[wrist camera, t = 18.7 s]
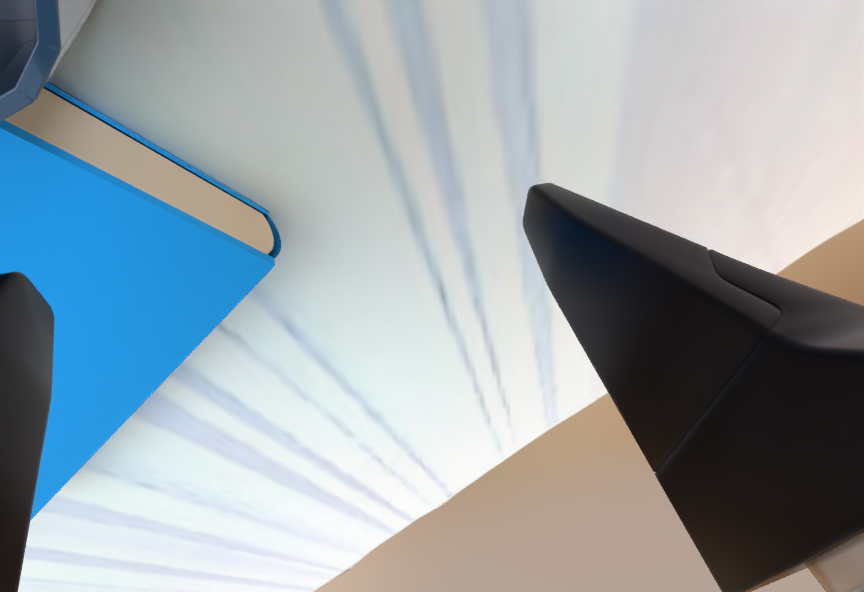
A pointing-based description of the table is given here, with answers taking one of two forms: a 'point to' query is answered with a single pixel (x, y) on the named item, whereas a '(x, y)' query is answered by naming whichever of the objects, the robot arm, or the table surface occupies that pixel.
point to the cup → (34, 46)
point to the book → (117, 264)
